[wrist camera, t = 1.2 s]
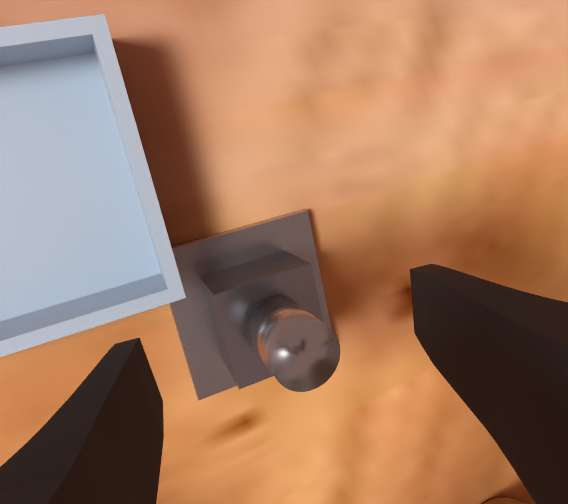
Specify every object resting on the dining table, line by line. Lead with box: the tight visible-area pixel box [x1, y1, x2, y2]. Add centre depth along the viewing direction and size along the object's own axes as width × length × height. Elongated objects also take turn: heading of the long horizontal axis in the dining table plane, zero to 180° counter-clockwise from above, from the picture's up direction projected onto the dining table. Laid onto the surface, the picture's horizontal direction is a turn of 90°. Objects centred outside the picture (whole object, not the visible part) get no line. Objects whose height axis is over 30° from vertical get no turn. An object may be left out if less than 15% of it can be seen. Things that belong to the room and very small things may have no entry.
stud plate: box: [169, 209, 332, 400], centre depth 23 cm, size 8×8×3 cm
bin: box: [0, 14, 186, 357], centre depth 18 cm, size 11×11×4 cm
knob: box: [200, 251, 340, 392], centre depth 21 cm, size 5×5×7 cm
